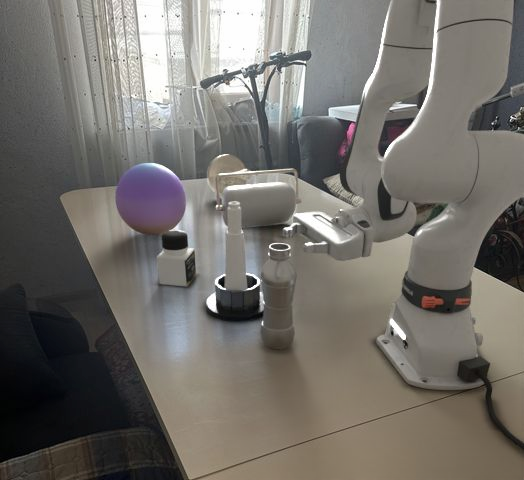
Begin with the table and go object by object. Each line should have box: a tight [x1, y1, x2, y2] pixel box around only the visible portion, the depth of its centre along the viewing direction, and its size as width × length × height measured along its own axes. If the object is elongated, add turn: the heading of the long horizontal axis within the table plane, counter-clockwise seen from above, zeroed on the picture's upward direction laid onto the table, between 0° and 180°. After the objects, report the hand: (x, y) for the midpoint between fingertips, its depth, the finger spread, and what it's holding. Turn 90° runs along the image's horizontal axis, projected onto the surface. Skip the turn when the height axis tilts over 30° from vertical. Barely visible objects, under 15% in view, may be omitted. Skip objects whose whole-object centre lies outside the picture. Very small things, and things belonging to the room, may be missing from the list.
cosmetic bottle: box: [224, 202, 248, 290], centre depth 106 cm, size 6×6×22 cm
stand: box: [205, 272, 264, 323], centre depth 112 cm, size 14×14×6 cm
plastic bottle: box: [259, 242, 298, 350], centre depth 95 cm, size 6×7×20 cm
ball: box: [114, 162, 187, 237], centre depth 147 cm, size 20×20×20 cm
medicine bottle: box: [156, 229, 197, 288], centre depth 122 cm, size 7×7×12 cm
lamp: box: [206, 154, 302, 228], centre depth 167 cm, size 27×23×40 cm
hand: (294, 240), depth 109 cm, fingers open, 8 cm apart
